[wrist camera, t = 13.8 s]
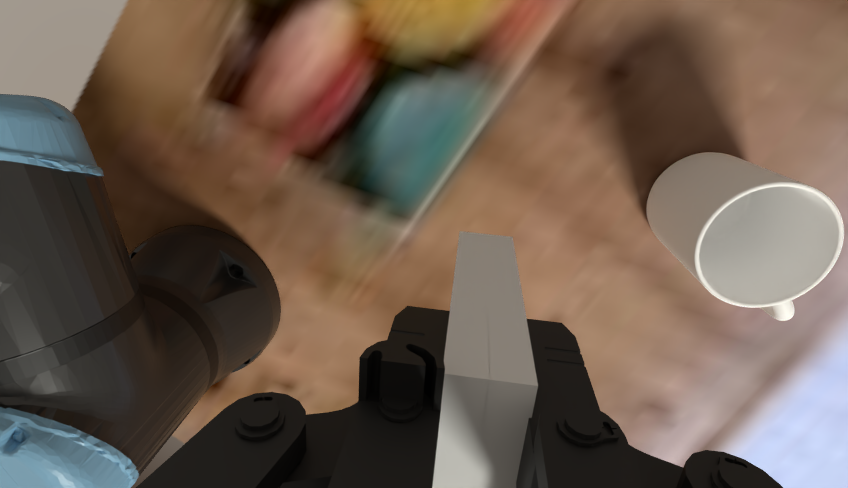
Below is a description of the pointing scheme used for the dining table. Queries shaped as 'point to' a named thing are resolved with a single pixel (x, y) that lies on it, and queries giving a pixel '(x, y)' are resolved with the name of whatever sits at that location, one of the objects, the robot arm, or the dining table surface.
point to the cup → (745, 230)
